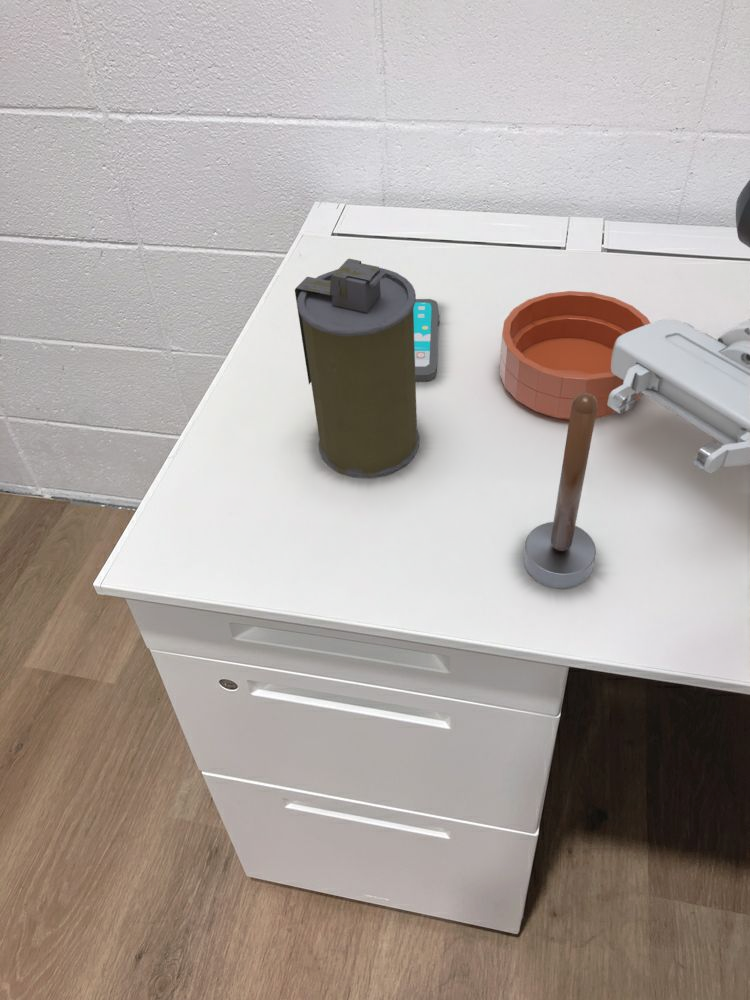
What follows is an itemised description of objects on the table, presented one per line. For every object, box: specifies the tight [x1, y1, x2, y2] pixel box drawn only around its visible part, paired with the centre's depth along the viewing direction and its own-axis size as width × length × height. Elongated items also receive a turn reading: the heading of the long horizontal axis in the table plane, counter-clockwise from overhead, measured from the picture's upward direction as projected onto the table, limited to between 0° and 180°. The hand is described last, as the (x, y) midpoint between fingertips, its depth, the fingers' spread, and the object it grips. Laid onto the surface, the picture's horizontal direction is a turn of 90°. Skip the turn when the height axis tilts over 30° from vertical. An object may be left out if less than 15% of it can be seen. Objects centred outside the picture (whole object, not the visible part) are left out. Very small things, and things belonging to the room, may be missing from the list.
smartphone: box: [413, 298, 441, 382], centre depth 94 cm, size 9×1×15 cm
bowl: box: [498, 290, 651, 421], centre depth 86 cm, size 16×16×6 cm
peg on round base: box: [523, 393, 598, 590], centre depth 64 cm, size 6×6×19 cm
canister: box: [294, 258, 420, 479], centre depth 76 cm, size 11×10×20 cm
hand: (656, 432), depth 67 cm, fingers open, 8 cm apart
